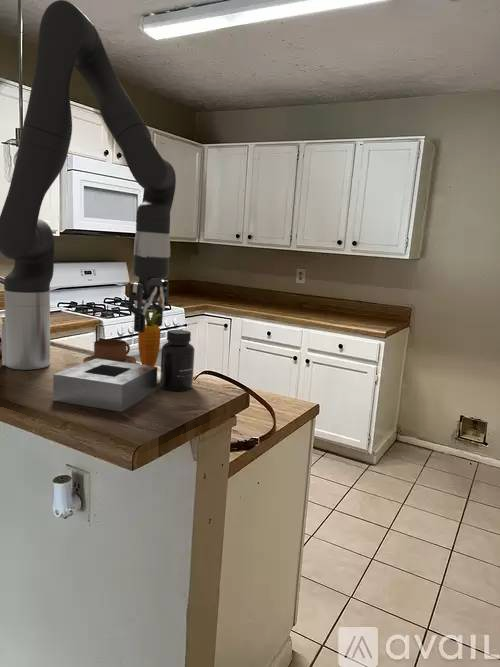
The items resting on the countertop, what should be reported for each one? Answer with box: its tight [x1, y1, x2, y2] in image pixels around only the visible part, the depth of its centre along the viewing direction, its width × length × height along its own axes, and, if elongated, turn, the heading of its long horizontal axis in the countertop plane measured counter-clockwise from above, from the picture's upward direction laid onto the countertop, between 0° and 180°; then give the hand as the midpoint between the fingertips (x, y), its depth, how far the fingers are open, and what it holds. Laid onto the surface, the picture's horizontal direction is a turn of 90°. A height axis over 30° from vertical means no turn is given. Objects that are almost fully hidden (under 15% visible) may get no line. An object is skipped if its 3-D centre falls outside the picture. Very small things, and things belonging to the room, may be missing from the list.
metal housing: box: [52, 358, 158, 413], centre depth 94 cm, size 14×14×5 cm
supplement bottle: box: [159, 329, 195, 392], centre depth 102 cm, size 7×7×12 cm
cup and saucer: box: [83, 338, 137, 364], centre depth 114 cm, size 12×12×6 cm
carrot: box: [137, 308, 162, 367], centre depth 107 cm, size 5×5×15 cm
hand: (148, 328), depth 107 cm, fingers open, 8 cm apart
